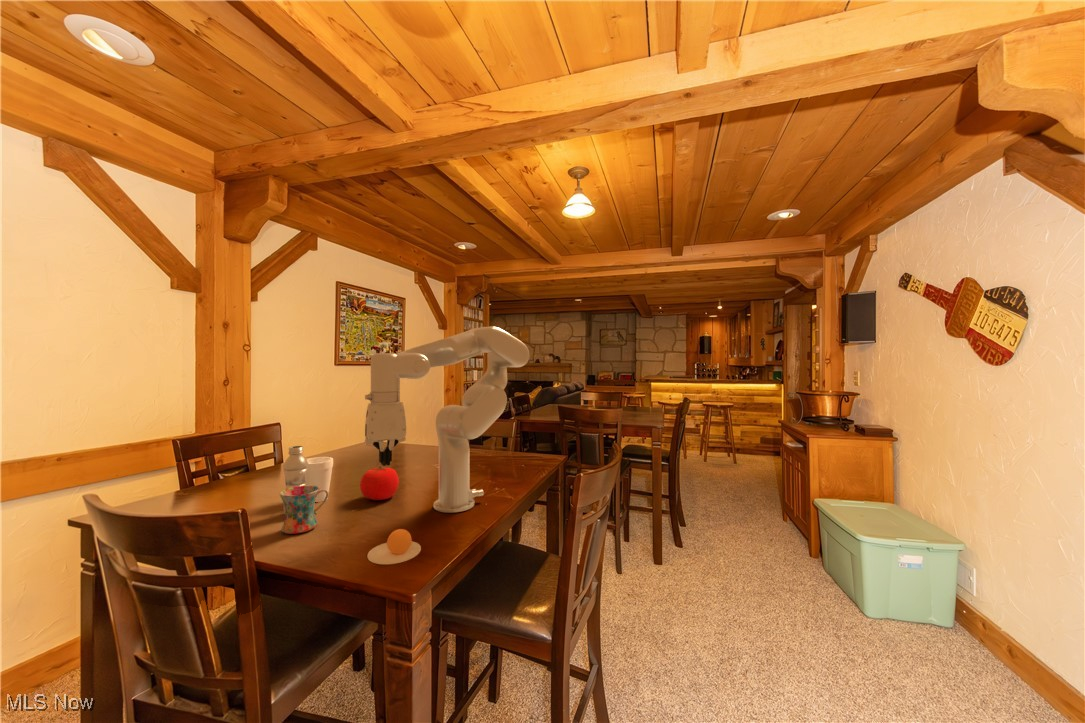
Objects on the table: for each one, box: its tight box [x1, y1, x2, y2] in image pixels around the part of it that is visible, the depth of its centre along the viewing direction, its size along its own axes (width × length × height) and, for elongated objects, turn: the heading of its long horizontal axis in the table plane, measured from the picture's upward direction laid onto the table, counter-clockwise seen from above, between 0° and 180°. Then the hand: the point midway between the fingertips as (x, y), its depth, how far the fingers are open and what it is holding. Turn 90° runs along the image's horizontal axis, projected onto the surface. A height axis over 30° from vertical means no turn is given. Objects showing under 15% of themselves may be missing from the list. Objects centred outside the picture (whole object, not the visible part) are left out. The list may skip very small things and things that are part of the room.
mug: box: [279, 485, 329, 535], centre depth 113 cm, size 12×9×11 cm
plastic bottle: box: [282, 445, 308, 514], centre depth 123 cm, size 6×7×20 cm
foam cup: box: [306, 456, 334, 503], centre depth 136 cm, size 10×9×13 cm
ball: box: [386, 528, 413, 554], centre depth 98 cm, size 6×6×6 cm
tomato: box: [359, 466, 400, 501], centre depth 137 cm, size 11×12×10 cm
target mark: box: [367, 540, 422, 566], centre depth 99 cm, size 12×12×1 cm
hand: (385, 464), depth 114 cm, fingers closed
